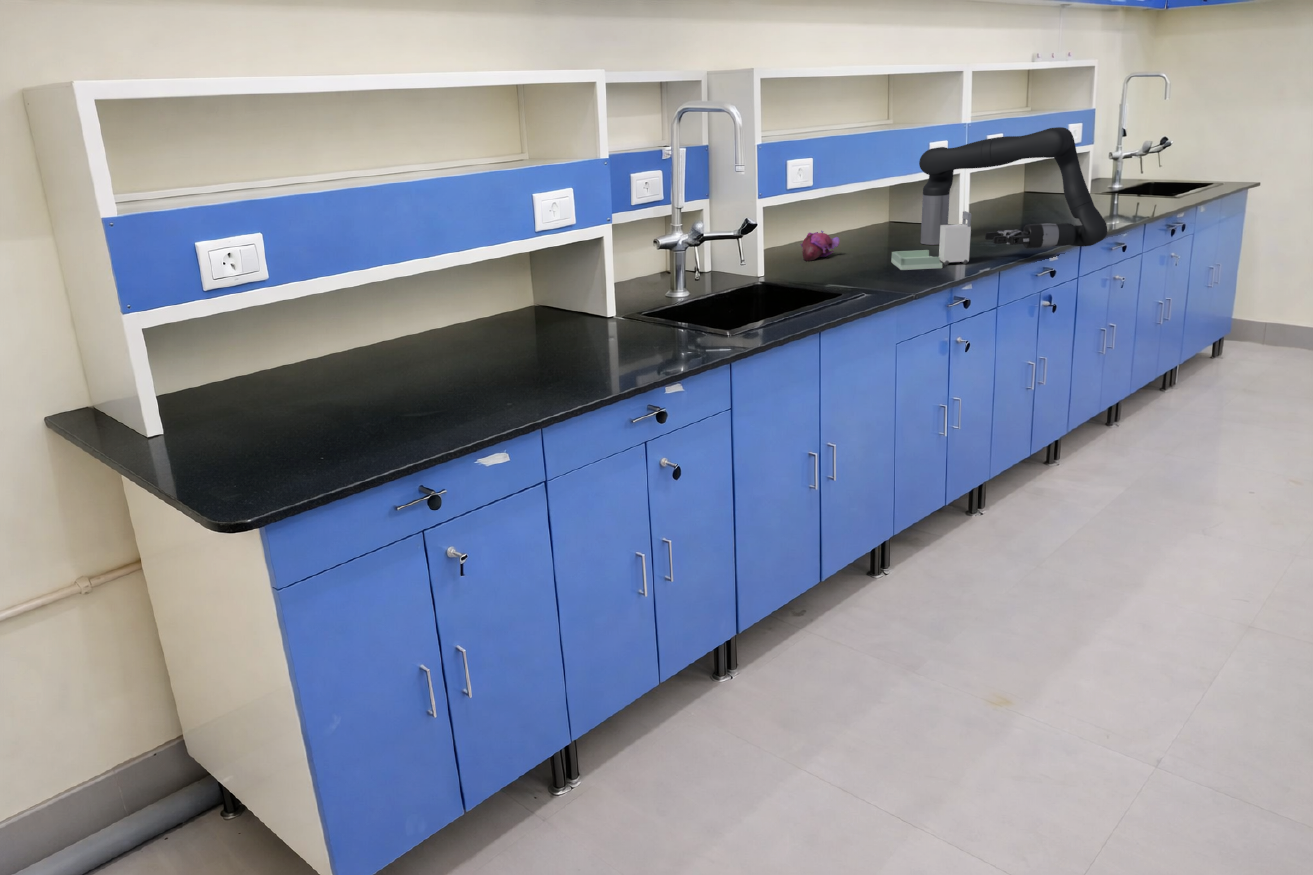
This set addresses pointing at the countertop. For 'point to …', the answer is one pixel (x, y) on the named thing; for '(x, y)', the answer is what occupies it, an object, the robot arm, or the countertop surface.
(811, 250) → the anatomical model
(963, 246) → the grey box with feet
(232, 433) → the countertop surface
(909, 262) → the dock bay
